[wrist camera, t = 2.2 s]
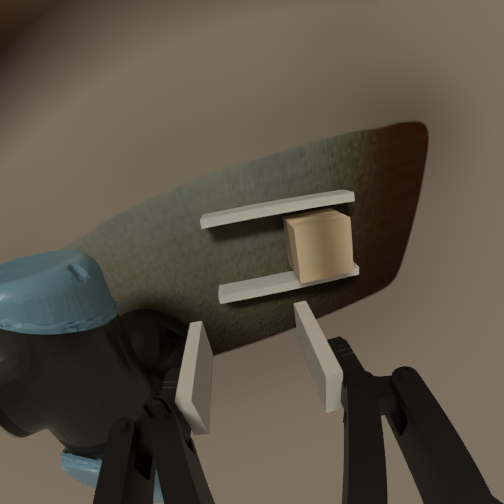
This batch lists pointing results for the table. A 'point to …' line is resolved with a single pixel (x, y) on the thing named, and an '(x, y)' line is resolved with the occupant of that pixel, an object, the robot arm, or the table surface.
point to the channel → (281, 280)
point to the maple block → (319, 244)
